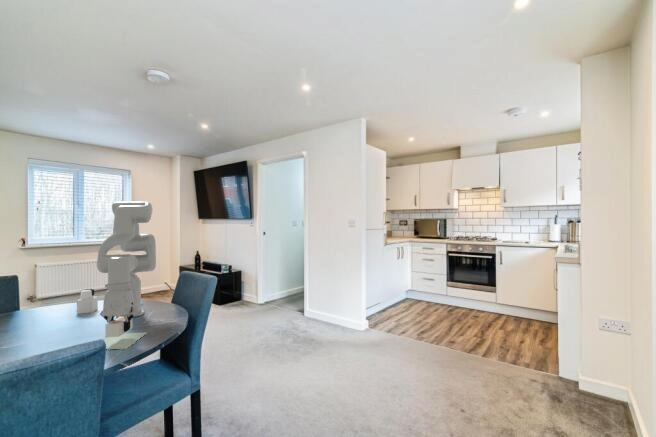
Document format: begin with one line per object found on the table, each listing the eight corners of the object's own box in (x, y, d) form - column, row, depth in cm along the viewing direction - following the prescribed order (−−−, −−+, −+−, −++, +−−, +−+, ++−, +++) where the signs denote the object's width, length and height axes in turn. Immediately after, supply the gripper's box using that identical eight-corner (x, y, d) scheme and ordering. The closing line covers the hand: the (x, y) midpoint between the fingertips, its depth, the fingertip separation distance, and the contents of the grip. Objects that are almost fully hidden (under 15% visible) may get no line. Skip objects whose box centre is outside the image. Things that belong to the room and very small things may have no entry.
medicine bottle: (82, 310, 173) (82, 288, 173) (97, 309, 175) (97, 287, 175) (76, 314, 166) (76, 291, 166) (92, 312, 169) (92, 290, 168)
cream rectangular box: (105, 337, 123) (105, 324, 123) (120, 328, 133) (120, 316, 133) (118, 336, 124) (118, 323, 124) (132, 328, 134) (132, 315, 134)
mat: (113, 335, 136) (113, 333, 136) (147, 333, 137) (147, 332, 137) (88, 350, 120) (88, 349, 120) (126, 349, 121) (126, 347, 121)
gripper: (91, 289, 124) (91, 335, 124) (136, 288, 125) (136, 333, 125) (103, 285, 131) (103, 328, 131) (145, 284, 133) (145, 327, 133)
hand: (119, 330), depth 128 cm, fingers closed on cream rectangular box, 5 cm apart
